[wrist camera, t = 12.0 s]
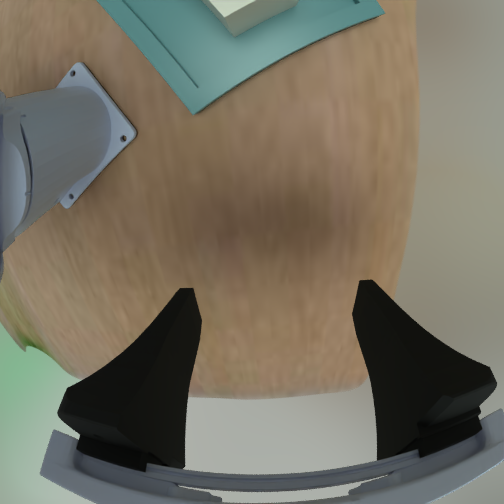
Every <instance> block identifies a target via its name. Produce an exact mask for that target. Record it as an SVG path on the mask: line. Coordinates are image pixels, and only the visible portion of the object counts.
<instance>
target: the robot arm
mask: <svg viewBox="0 0 504 504" xmlns="http://www.w3.org/2000/svg"><path fill="white" fill-rule="evenodd" d="M74 71H75V76H73V73H74ZM136 134H137V133H136V130H135V128H134V127H133V125H132V124H131V123H130V122H129V120H128V119H127V118H126V117H125V115H124V114H123V113H122V112H121V110H120V109H119V108H118V107H117V105H116V104H115V103H114V102H113V100H112V99H111V98H110V96H109V95H108V94H107V93H106V91H105V90H104V89H103V88H102V86H101V85H100V84H99V82H98V81H97V80H96V79H95V77H94V76H93V75H92V73H91V72H90V71H89V70H88V68H87V67H86V66H85V64H84V63H82V62H78V63H76V64H75V65H74V66H73V67H72V68H71V69H70V70H69V72H68V73H67V74H66V75H65V77H64V78H63V79H62V80H61V82H60V83H59V84H58V86H57V87H56V88H55V89H50V90H44V91H38V92H33V93H28V94H23V95H19V96H15V97H10V98H6V96H5V94H4V93H3V92H2V91H0V282H1V279H2V275H3V270H4V260H3V253H2V252H4V251H5V250H6V249H7V248H8V247H9V246H10V245H11V244H12V243H13V242H14V241H15V237H17V236H18V235H20V234H21V233H23V232H24V231H25V230H26V229H27V228H28V227H29V226H31V225H32V224H33V223H34V222H35V221H36V220H38V219H39V218H40V217H41V216H42V215H44V214H45V213H46V212H47V211H48V210H50V209H51V208H52V207H53V206H55V205H56V204H57V203H59V202H60V203H61V204H62V205H63V207H64V208H66V209H68V208H70V207H71V206H72V205H73V203H74V202H75V201H76V200H77V199H78V197H79V196H80V195H81V194H82V193H83V192H84V190H85V189H86V188H87V187H88V186H89V185H90V183H91V182H92V181H93V180H94V179H95V178H96V177H97V176H98V175H99V174H100V172H101V171H102V170H103V169H104V168H105V167H106V166H107V165H108V164H109V163H110V162H111V161H112V160H113V159H114V158H115V157H116V156H117V155H118V154H119V153H120V152H121V151H122V150H123V149H124V148H125V147H126V146H127V145H128V144H129V143H130V142H131V141H132V140H133V139H134V138H135V137H136ZM123 135H125V136H126V138H127V140H126V141H124V140H123V139H122V138H123ZM71 194H73V196H74V197H72V195H71ZM352 316H353V321H354V326H355V331H356V335H357V338H358V341H359V345H360V348H361V351H362V354H363V357H364V360H365V363H366V367H367V370H368V373H369V377H370V381H371V387H372V393H373V399H374V407H375V416H376V428H377V461H374V462H369V463H365V464H360V465H354V466H349V467H343V468H337V469H330V470H323V471H314V472H305V473H291V474H269V475H245V474H223V473H210V472H200V471H192V470H184V469H183V468H184V467H185V428H186V413H187V400H188V392H189V386H190V380H191V376H192V372H193V368H194V363H195V359H196V355H197V351H198V346H199V342H200V334H201V325H202V319H201V315H200V312H199V308H198V304H197V301H196V297H195V293H194V289H193V288H180V289H179V290H178V291H177V292H176V293H175V295H174V296H173V297H172V299H171V300H170V301H169V302H168V304H167V305H166V306H165V307H164V309H163V310H162V311H161V312H160V313H159V315H158V316H157V317H156V318H155V319H154V321H153V322H152V323H151V324H150V325H149V326H148V327H147V328H146V330H145V331H144V332H143V333H142V334H141V335H140V336H139V337H138V338H137V339H136V340H135V341H134V342H133V343H132V344H131V345H130V346H129V347H128V348H127V349H125V350H124V351H123V352H122V353H121V354H120V355H118V356H117V357H116V358H114V359H113V360H112V361H111V362H109V363H108V364H107V365H105V366H104V367H103V368H101V369H100V370H98V371H97V372H95V373H93V374H92V375H90V376H89V377H87V378H85V379H83V380H82V381H80V382H78V383H76V384H74V385H72V386H70V387H68V388H67V390H66V392H65V394H64V397H63V399H62V402H61V404H60V407H59V409H58V412H57V413H58V416H59V418H60V419H61V420H62V421H63V422H64V423H66V424H67V425H68V426H69V427H71V428H72V429H73V430H75V431H76V432H78V433H79V434H80V438H79V440H78V439H76V438H74V437H72V436H69V435H67V434H64V433H61V432H59V431H57V430H53V432H52V435H51V438H50V441H49V444H48V447H47V451H46V454H45V457H44V460H43V464H42V468H41V471H40V474H41V476H43V477H45V478H46V479H48V480H50V481H52V482H54V483H56V484H57V485H59V486H61V487H63V488H65V489H67V490H69V491H71V492H73V493H75V494H77V495H79V496H81V497H83V498H85V499H88V500H90V501H92V502H94V503H97V504H429V503H431V502H433V501H436V500H438V499H440V498H442V497H444V496H446V495H448V494H450V493H452V492H454V491H455V490H457V489H459V488H461V487H463V486H464V485H466V484H468V483H469V482H471V481H473V480H475V479H476V478H478V477H479V476H481V475H483V474H484V473H486V472H487V471H489V470H491V469H492V468H494V467H495V466H497V465H498V464H500V463H501V462H502V461H504V413H503V410H502V409H499V410H497V411H495V412H493V413H491V414H489V415H487V416H486V417H484V418H482V419H481V420H479V417H478V415H479V414H480V413H481V410H480V407H479V406H480V405H481V404H482V403H483V402H484V401H485V400H486V399H487V398H488V397H489V396H490V395H491V394H492V393H493V391H494V390H495V388H496V386H497V382H496V380H495V378H494V375H493V373H492V371H491V369H490V367H488V366H486V365H483V364H481V363H479V362H476V361H475V360H472V359H470V358H468V357H466V356H465V355H463V354H461V353H459V352H457V351H455V350H454V349H452V348H450V347H449V346H447V345H446V344H444V343H443V342H441V341H440V340H438V339H437V338H436V337H434V336H433V335H432V334H430V333H429V332H427V331H426V330H425V329H424V328H423V327H421V326H420V325H419V324H418V323H417V322H416V321H414V320H413V319H412V318H411V317H410V316H409V315H408V314H407V313H406V312H405V311H403V310H402V309H401V308H400V307H399V306H398V305H397V304H396V303H395V302H394V301H393V300H392V299H391V298H390V297H389V296H388V295H387V294H386V293H385V292H384V291H383V290H382V289H381V288H380V287H379V286H378V285H377V284H376V283H375V282H374V281H373V280H360V281H359V285H358V290H357V295H356V299H355V304H354V308H353V312H352ZM388 474H389V475H388ZM385 475H388V476H385ZM380 476H385V477H382V478H379V479H375V480H372V481H369V482H365V483H362V484H361V485H360V486H359V487H357V488H354V489H351V490H349V492H348V493H349V495H347V496H341V497H335V498H327V499H319V500H309V501H298V502H285V503H224V502H222V498H221V497H217V496H213V495H211V494H210V493H209V492H204V491H199V490H193V489H188V488H183V487H179V486H186V487H193V488H201V489H210V490H222V491H240V492H278V491H296V490H307V489H317V488H325V487H332V486H338V485H344V484H349V483H354V482H359V481H364V480H369V479H373V478H377V477H380ZM178 485H179V486H178Z"/></svg>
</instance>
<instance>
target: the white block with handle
mask: <svg viewBox="0 0 504 504" xmlns="http://www.w3.org/2000/svg"><path fill="white" fill-rule="evenodd" d="M202 1H203V3H204V4H205V5H206V6H207V7H208V8H209V9H210V10H211V11H212V12H213V13H214V15H215V16H216V17H217V18H218V19H219V20H220V21H221V23H222V24H223V25H224V26H225V27H226V28H227V30H228V31H229V32H230V33H231V34H232V36H233V37H234V38H235V37H236V36H238V35H240V34H241V33H243V32H245V31H247V30H248V29H250V28H252V27H254V26H256V25H258V24H259V23H261V22H263V21H265V20H267V19H269V18H271V17H273V16H275V15H277V14H279V13H281V12H284V11H286V10H288V9H290V8H292V7H295V6H296V5H297V3H298V1H299V0H202Z"/></svg>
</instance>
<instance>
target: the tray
mask: <svg viewBox="0 0 504 504" xmlns="http://www.w3.org/2000/svg"><path fill="white" fill-rule="evenodd" d="M97 2H98V3H99V4H100V5H101V6H102V7H103V8H104V9H105V10H106V11H107V13H108V14H109V15H110V16H111V17H112V18H113V19H114V20H115V22H116V23H117V24H118V25H119V26H120V27H121V28H122V30H123V31H124V32H125V33H126V34H127V35H128V36H129V38H130V39H131V40H132V41H133V42H134V44H135V45H136V46H137V47H138V48H139V49H140V51H141V52H142V53H143V54H144V55H145V57H146V58H147V59H148V60H149V61H150V63H151V64H152V65H153V66H154V67H155V69H156V70H157V71H158V72H159V73H160V75H161V76H162V77H163V78H164V80H165V81H166V82H167V83H168V84H169V86H170V87H171V88H172V89H173V91H174V92H175V93H176V94H177V96H178V97H179V98H180V99H181V101H182V102H183V103H184V104H185V106H186V107H187V108H188V110H189V111H190V112H191V113H192V115H195V114H197V113H199V112H200V111H202V110H203V109H204V108H206V107H207V106H209V105H210V104H211V103H213V102H214V101H216V100H217V99H219V98H220V97H222V96H223V95H224V94H226V93H227V92H229V91H230V90H232V89H233V88H235V87H237V86H238V85H240V84H241V83H243V82H244V81H246V80H248V79H249V78H251V77H252V76H254V75H256V74H257V73H259V72H261V71H262V70H264V69H266V68H268V67H269V66H271V65H273V64H275V63H276V62H278V61H280V60H282V59H284V58H286V57H287V56H289V55H291V54H293V53H295V52H297V51H299V50H301V49H303V48H305V47H307V46H309V45H311V44H313V43H315V42H317V41H320V40H322V39H324V38H326V37H328V36H331V35H333V34H335V33H338V32H340V31H342V30H345V29H347V28H350V27H352V26H355V25H357V24H360V23H363V22H365V21H368V20H371V19H374V18H377V17H379V16H381V15H383V14H385V12H384V11H383V9H382V8H381V6H380V5H379V3H378V2H377V1H376V0H299V1H298V3H297V5H296V6H295V7H292V8H290V9H288V10H286V11H284V12H281V13H279V14H277V15H275V16H273V17H271V18H269V19H267V20H265V21H263V22H261V23H259V24H258V25H256V26H254V27H252V28H250V29H248V30H247V31H245V32H243V33H241V34H240V35H238V36H236V37H235V38H234V37H233V36H232V34H231V33H230V32H229V31H228V30H227V28H226V27H225V26H224V25H223V24H222V23H221V21H220V20H219V19H218V18H217V17H216V16H215V15H214V13H213V12H212V11H211V10H210V9H209V8H208V7H207V6H206V5H205V4H204V3H203V1H202V0H97Z"/></svg>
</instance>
